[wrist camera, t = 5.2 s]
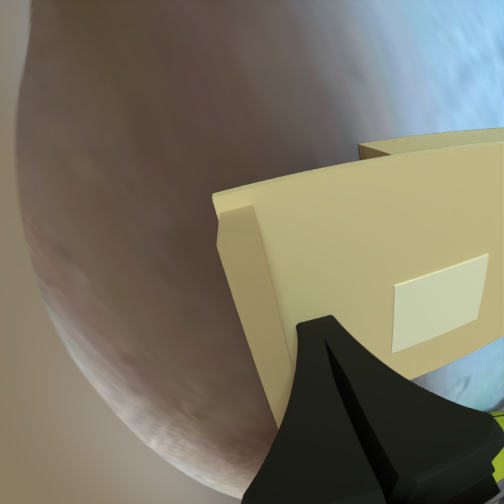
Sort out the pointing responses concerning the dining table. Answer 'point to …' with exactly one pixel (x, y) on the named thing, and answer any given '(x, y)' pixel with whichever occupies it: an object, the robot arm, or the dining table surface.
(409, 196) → the lid
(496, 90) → the dining table surface
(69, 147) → the dining table surface
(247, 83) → the dining table surface
